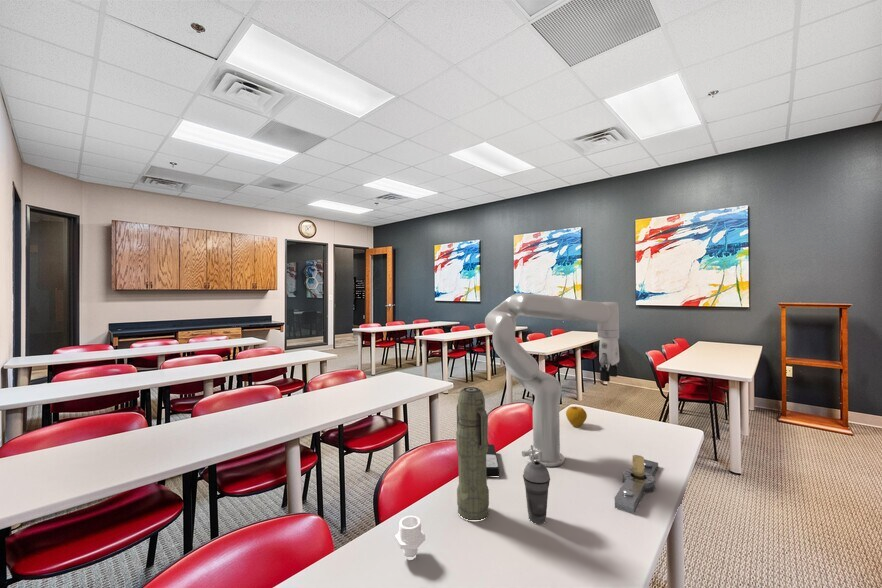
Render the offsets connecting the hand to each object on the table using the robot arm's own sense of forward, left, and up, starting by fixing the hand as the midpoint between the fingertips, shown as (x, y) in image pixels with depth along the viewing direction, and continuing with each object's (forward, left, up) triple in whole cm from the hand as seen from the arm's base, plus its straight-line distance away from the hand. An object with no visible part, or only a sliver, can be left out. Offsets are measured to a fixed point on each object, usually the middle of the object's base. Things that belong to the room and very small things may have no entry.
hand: (608, 378), depth 140 cm
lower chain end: (-4, -19, -28) cm, 34 cm away
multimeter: (-51, +10, -29) cm, 59 cm away
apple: (+7, +27, -28) cm, 40 cm away
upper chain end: (-16, -25, -28) cm, 41 cm away
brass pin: (-10, -22, -28) cm, 37 cm away
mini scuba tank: (-50, -25, -28) cm, 63 cm away
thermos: (-65, -16, -28) cm, 73 cm away
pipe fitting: (-86, -26, -28) cm, 94 cm away
